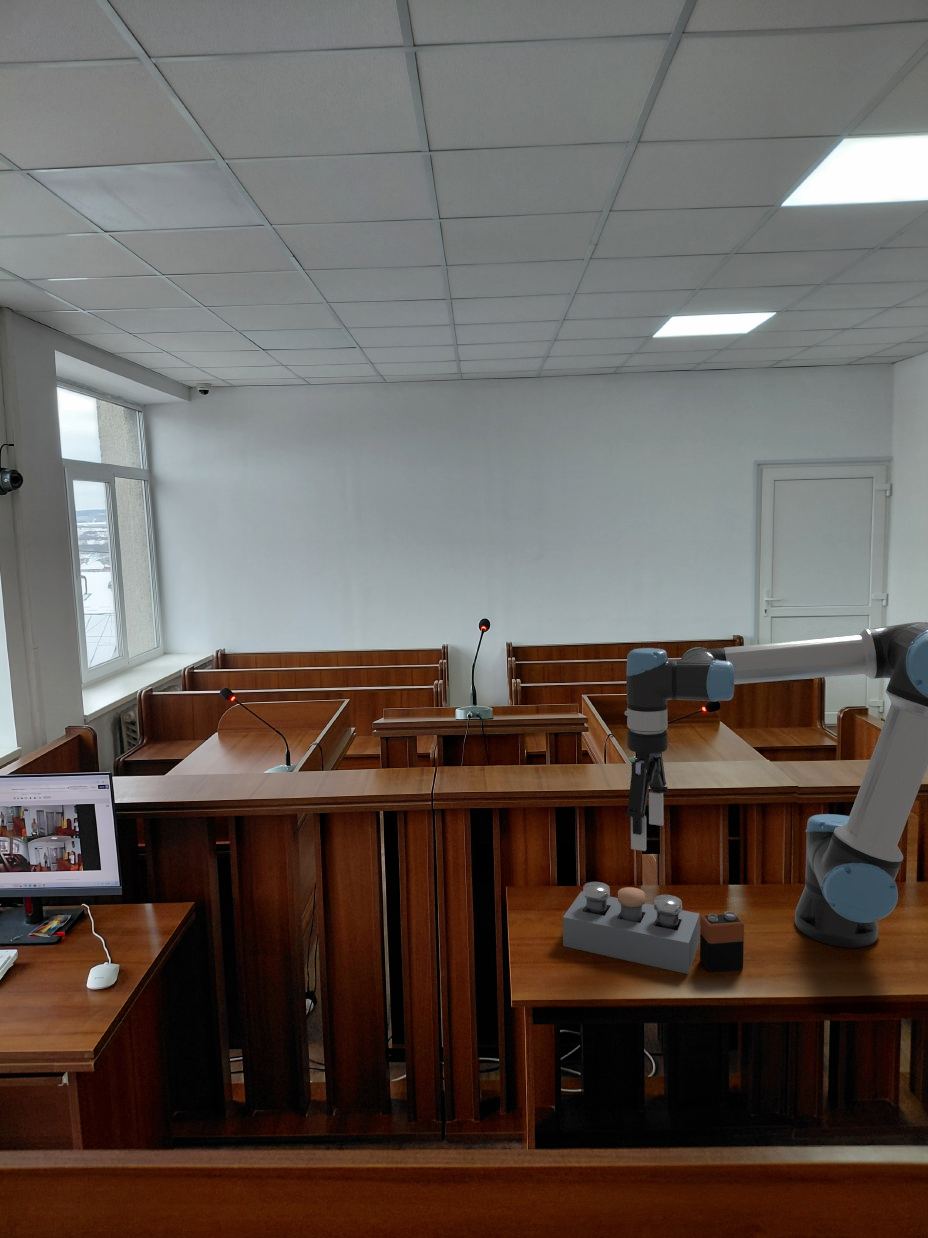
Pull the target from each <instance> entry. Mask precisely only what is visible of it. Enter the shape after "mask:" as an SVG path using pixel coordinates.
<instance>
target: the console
mask: <svg viewBox="0 0 928 1238" xmlns="http://www.w3.org/2000/svg"><path fill="white" fill-rule="evenodd" d="M700 919H701V914H700V913H699V912H693V911H690V910H683V909H682V911H681V913H679V923H678V931H677V930H672V929H667V928H662V927H657V911H656V910H655V909H654V904H651V903H646V902H645V904H644V905H642V921H641V923H638V922H633V921H628V920H623V919H621V904H620V903H619V902H618V897H614V896H610V897H609V898H608V899H607V913H606V914H605V916H603V915H598V914H593V913H588V912H586V898H585V897H584V895H583V891H582V890H581V891H580V892H579V894H578V895H577V896H576V898H575V899H574V901H573V903H571V905H570V907H569V908H568V909H567V911H566V912H565V914H563V916H562V947H566V948H570V949H575V950H579V951H583V952H587V953H588V952H589V953H592V954H597V955H601V956H606V957H610V958H615V959H618V960H623V961H627V962H632V963H637V964H641V965H647V966H651V967H655V968H659V969H664V970H667V971H668V970H669V971H673V972H677V973H680V974H681V973H682V974H687V975H689V974H690V971H691V968H692V965H693V962H694V960H695V957H696V954H697V952H698V951H697V950H698V947H699V946H700Z"/></svg>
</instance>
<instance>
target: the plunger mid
mask: <svg viewBox="0 0 928 1238" xmlns="http://www.w3.org/2000/svg"><path fill="white" fill-rule="evenodd" d="M617 898H618V902H619V903H620V904H621V919H623V920H628V921H633V922H638V923H641V921H642V905H644V904H645V903H646V893H645V891H644V890H642V889H640V888H638V887H637V888H636V887H632V886H631V887H629V886H626V887H622V888H620V889H618V891H617Z"/></svg>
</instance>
